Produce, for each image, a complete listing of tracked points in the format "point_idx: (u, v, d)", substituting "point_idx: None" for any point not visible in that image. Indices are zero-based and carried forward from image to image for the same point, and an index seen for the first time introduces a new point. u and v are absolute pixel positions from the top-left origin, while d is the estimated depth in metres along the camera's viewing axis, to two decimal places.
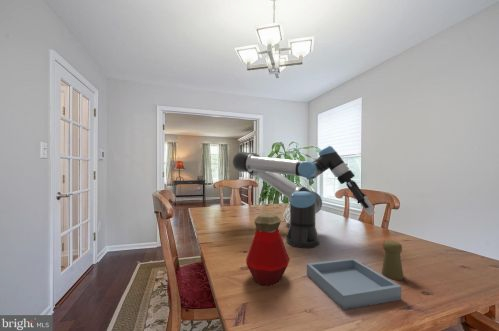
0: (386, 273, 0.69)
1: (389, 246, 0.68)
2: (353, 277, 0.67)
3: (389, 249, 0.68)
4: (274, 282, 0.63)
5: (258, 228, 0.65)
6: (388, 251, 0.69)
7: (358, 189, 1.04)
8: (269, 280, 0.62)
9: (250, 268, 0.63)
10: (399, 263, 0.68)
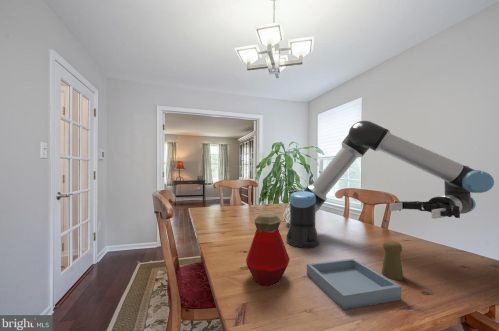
0: (386, 273, 0.69)
1: (389, 246, 0.68)
2: (353, 277, 0.67)
3: (389, 249, 0.68)
4: (274, 282, 0.63)
5: (258, 228, 0.65)
6: (388, 251, 0.69)
7: (417, 208, 0.82)
8: (269, 280, 0.62)
9: (250, 268, 0.63)
10: (399, 263, 0.68)
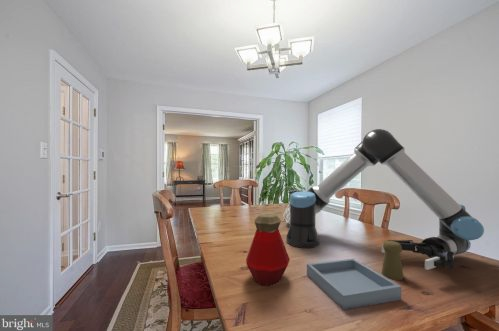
0: (386, 273, 0.69)
1: (389, 246, 0.68)
2: (353, 277, 0.67)
3: (389, 249, 0.68)
4: (274, 282, 0.63)
5: (258, 228, 0.65)
6: (388, 251, 0.69)
7: (410, 250, 0.79)
8: (269, 280, 0.62)
9: (250, 268, 0.63)
10: (399, 263, 0.68)
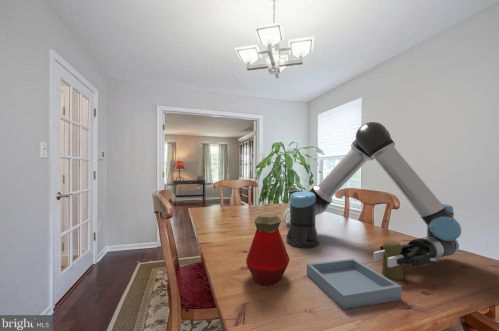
0: (386, 273, 0.69)
1: (389, 246, 0.68)
2: (353, 277, 0.67)
3: (389, 249, 0.68)
4: (274, 282, 0.63)
5: (258, 228, 0.65)
6: (388, 251, 0.69)
7: (401, 254, 0.74)
8: (269, 280, 0.62)
9: (250, 268, 0.63)
10: None
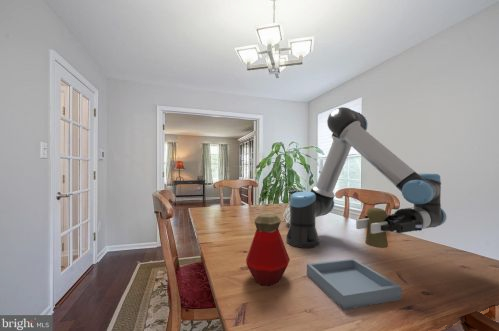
0: (369, 241, 0.64)
1: (373, 212, 0.64)
2: (353, 277, 0.67)
3: (373, 215, 0.64)
4: (274, 282, 0.63)
5: (258, 228, 0.65)
6: (372, 218, 0.64)
7: None
8: (269, 280, 0.62)
9: (250, 268, 0.63)
10: None
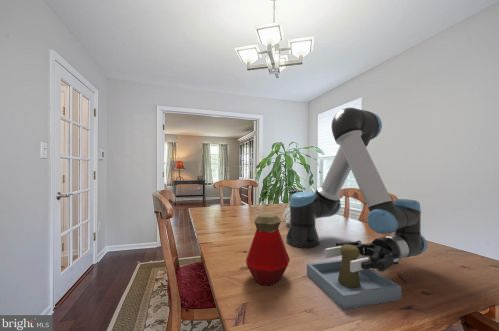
0: (341, 279, 0.62)
1: (346, 250, 0.62)
2: None
3: (345, 253, 0.62)
4: (274, 282, 0.63)
5: (258, 228, 0.65)
6: (344, 256, 0.62)
7: None
8: (269, 280, 0.62)
9: (250, 268, 0.63)
10: None
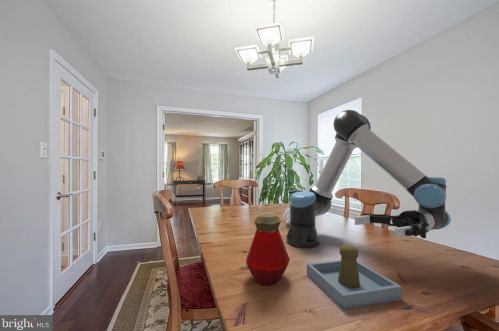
0: (341, 280, 0.62)
1: (344, 251, 0.62)
2: None
3: (344, 254, 0.62)
4: (274, 282, 0.63)
5: (258, 228, 0.65)
6: (343, 256, 0.62)
7: (385, 223, 0.75)
8: (269, 280, 0.62)
9: (250, 268, 0.63)
10: (355, 270, 0.61)
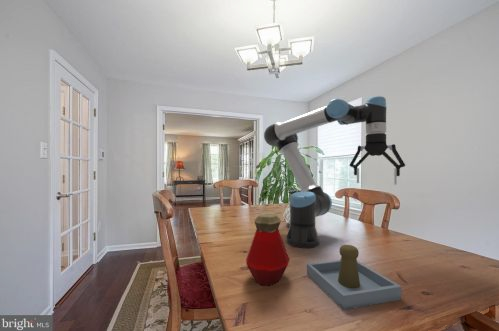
0: (341, 280, 0.62)
1: (344, 251, 0.62)
2: None
3: (344, 254, 0.62)
4: (274, 282, 0.63)
5: (258, 228, 0.65)
6: (343, 256, 0.62)
7: (386, 157, 0.88)
8: (269, 280, 0.62)
9: (250, 268, 0.63)
10: (355, 270, 0.61)
